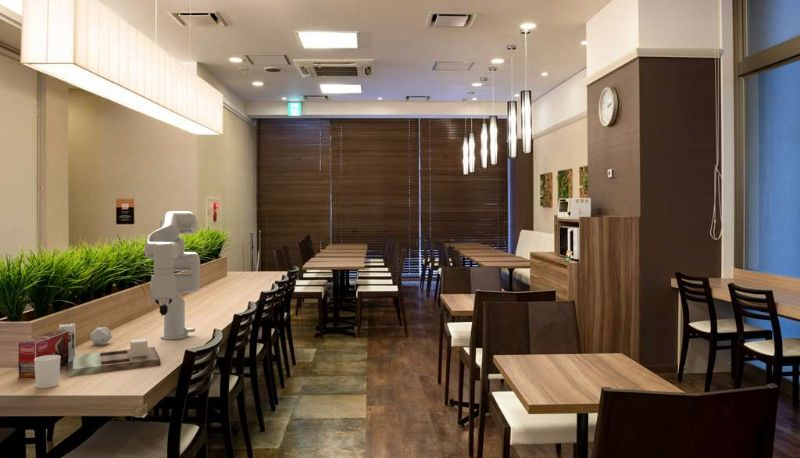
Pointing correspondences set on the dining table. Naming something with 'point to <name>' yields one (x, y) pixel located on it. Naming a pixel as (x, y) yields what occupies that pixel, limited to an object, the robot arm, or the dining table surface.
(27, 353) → the ice cream box
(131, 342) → the cream block
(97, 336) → the die
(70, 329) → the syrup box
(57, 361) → the white cup
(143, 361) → the board
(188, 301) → the dining table surface
